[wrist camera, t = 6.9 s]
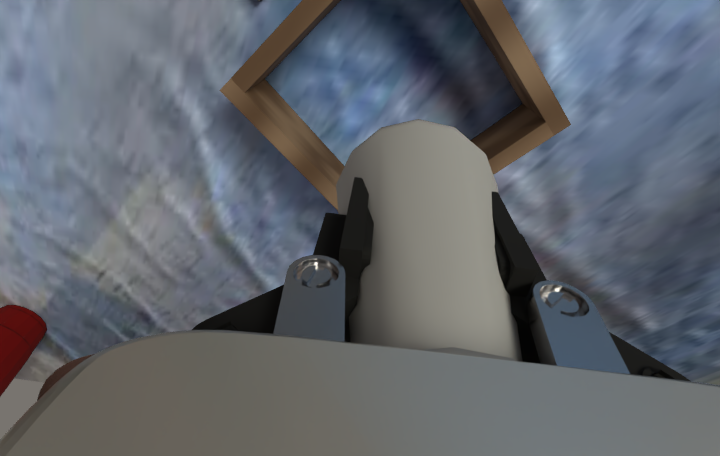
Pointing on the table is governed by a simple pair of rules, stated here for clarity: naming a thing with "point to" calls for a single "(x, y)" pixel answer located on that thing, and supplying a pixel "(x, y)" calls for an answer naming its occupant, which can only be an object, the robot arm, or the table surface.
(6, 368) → the plastic cup
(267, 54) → the frame
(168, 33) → the table surface
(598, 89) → the table surface
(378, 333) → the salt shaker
